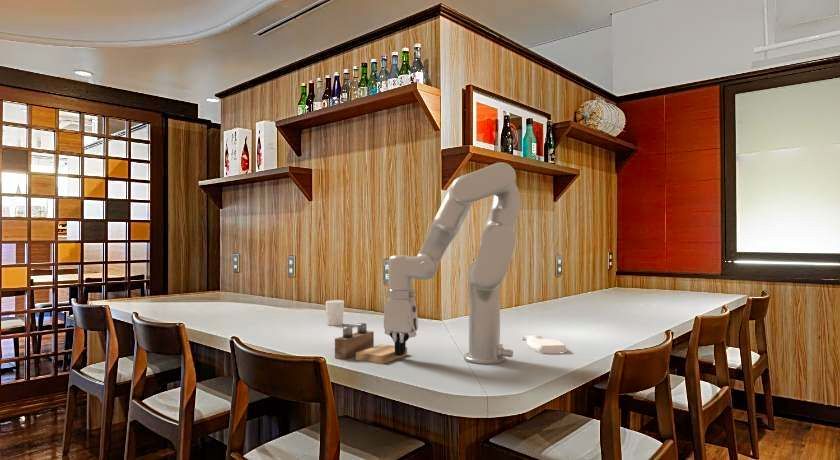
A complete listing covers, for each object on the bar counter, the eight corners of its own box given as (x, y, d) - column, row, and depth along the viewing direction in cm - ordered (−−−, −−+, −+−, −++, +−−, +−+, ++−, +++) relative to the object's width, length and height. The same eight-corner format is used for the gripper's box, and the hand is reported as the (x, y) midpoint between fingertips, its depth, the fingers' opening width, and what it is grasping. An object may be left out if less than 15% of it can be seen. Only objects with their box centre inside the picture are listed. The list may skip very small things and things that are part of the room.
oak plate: (407, 356, 168) (407, 347, 168) (382, 366, 156) (382, 356, 156) (381, 353, 173) (381, 344, 173) (355, 362, 161) (355, 352, 161)
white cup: (340, 326, 221) (340, 302, 221) (322, 325, 222) (322, 302, 222) (346, 323, 228) (346, 300, 228) (329, 322, 230) (329, 299, 230)
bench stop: (373, 349, 175) (373, 322, 176) (345, 359, 161) (345, 330, 161) (363, 348, 177) (363, 321, 177) (334, 357, 163) (334, 329, 163)
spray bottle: (537, 355, 169) (515, 341, 193) (570, 354, 170) (544, 340, 194) (537, 346, 169) (515, 333, 193) (570, 345, 170) (544, 332, 194)
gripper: (427, 295, 161) (427, 355, 161) (386, 292, 168) (385, 350, 168) (416, 297, 155) (415, 360, 154) (373, 295, 162) (373, 354, 161)
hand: (400, 354), depth 161 cm, fingers closed
